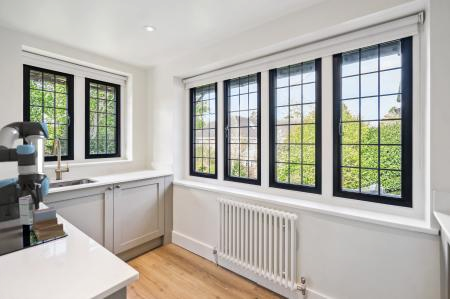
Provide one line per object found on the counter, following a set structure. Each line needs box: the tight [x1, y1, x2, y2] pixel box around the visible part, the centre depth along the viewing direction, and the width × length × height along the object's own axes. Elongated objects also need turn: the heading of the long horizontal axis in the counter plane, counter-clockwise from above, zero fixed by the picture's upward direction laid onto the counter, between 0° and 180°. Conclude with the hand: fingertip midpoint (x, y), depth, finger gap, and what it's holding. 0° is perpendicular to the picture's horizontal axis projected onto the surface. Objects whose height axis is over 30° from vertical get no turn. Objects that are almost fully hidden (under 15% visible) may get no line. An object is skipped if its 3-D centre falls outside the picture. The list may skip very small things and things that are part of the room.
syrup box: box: [19, 195, 34, 225], centre depth 127 cm, size 6×6×14 cm
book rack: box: [31, 207, 66, 242], centre depth 117 cm, size 22×10×10 cm, turn 45°
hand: (29, 215), depth 127 cm, fingers closed on syrup box, 6 cm apart
